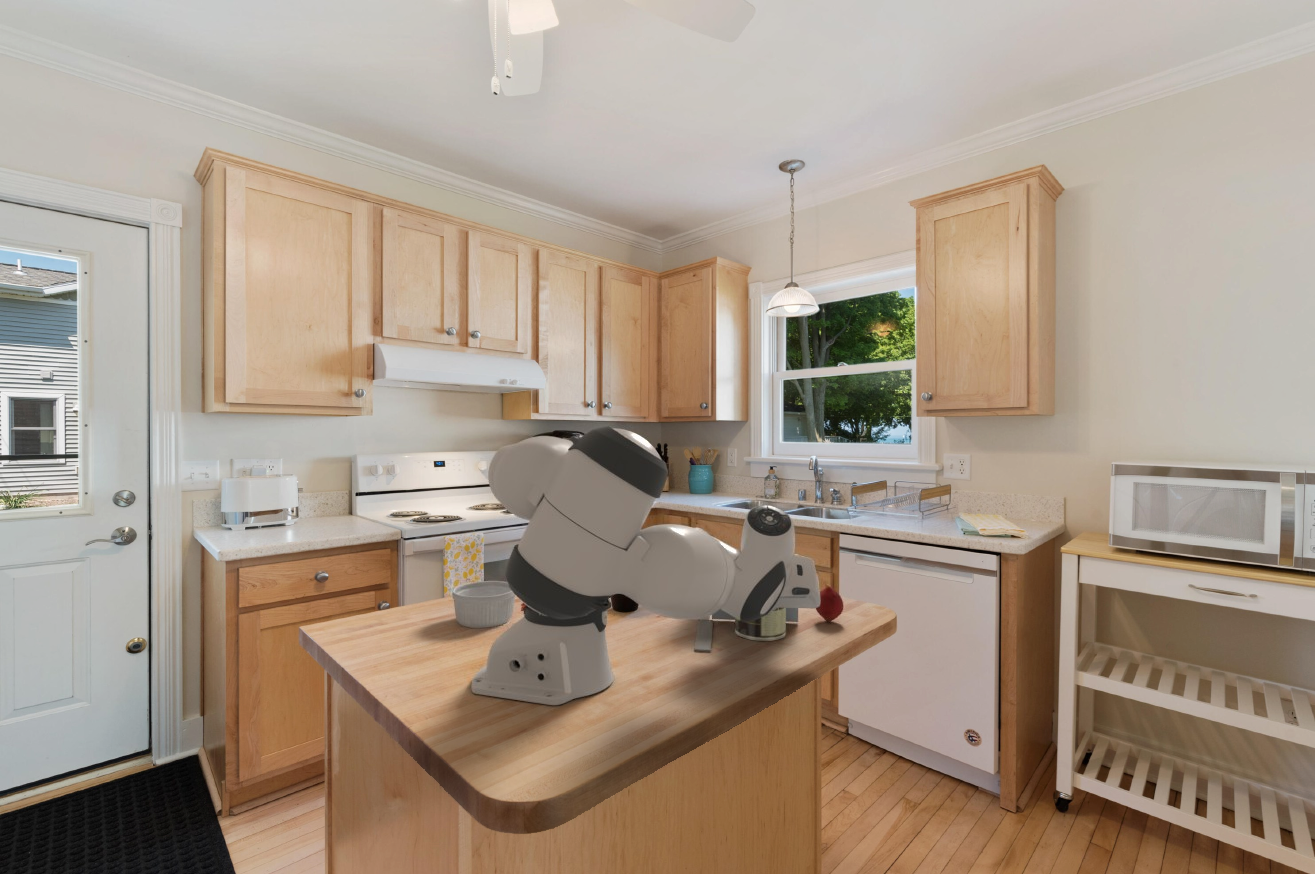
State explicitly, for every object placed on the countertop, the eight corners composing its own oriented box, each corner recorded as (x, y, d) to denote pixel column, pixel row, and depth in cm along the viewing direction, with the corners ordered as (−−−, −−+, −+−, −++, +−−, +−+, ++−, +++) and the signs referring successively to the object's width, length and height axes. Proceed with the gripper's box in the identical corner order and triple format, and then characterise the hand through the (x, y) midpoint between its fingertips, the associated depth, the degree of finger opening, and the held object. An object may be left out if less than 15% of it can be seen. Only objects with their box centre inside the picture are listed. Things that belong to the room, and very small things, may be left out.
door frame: (694, 651, 114) (694, 564, 114) (700, 607, 142) (700, 537, 141) (710, 651, 114) (710, 565, 113) (713, 608, 141) (713, 538, 141)
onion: (840, 617, 134) (840, 581, 134) (845, 626, 128) (845, 588, 128) (812, 617, 135) (812, 580, 134) (817, 625, 129) (817, 587, 129)
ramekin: (526, 623, 131) (525, 590, 131) (463, 634, 123) (463, 600, 123) (503, 608, 142) (503, 577, 142) (444, 618, 134) (444, 586, 134)
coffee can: (734, 640, 120) (734, 567, 120) (735, 623, 130) (735, 556, 130) (788, 642, 119) (788, 569, 118) (785, 625, 129) (785, 558, 128)
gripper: (705, 586, 108) (707, 624, 118) (825, 590, 106) (817, 628, 115) (706, 556, 112) (708, 595, 122) (822, 558, 110) (814, 598, 120)
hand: (762, 611), depth 119 cm, fingers closed, pressing on coffee can
